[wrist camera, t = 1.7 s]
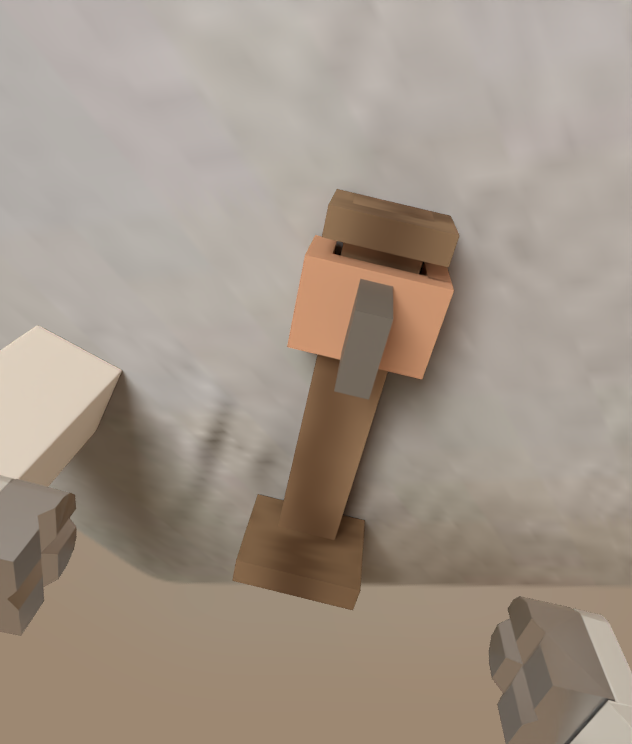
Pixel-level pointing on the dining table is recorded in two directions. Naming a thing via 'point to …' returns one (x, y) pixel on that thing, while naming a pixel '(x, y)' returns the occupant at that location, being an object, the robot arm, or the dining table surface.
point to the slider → (367, 315)
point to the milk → (48, 403)
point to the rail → (336, 426)
